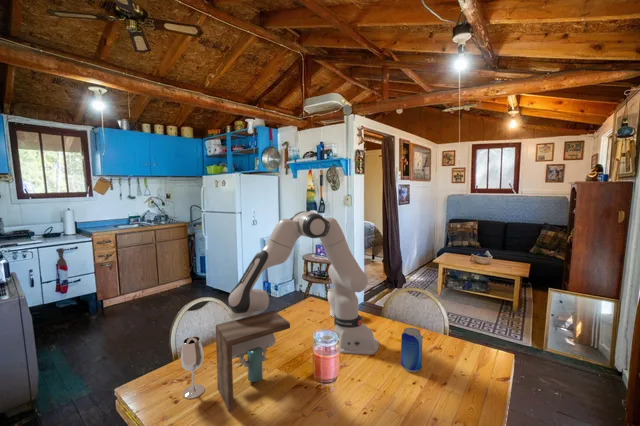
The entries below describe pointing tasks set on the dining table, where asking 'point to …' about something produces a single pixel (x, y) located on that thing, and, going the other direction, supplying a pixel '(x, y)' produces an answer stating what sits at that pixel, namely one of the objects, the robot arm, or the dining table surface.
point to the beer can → (411, 350)
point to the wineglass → (192, 364)
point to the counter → (237, 334)
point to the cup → (331, 301)
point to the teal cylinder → (255, 364)
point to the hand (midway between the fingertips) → (255, 363)
